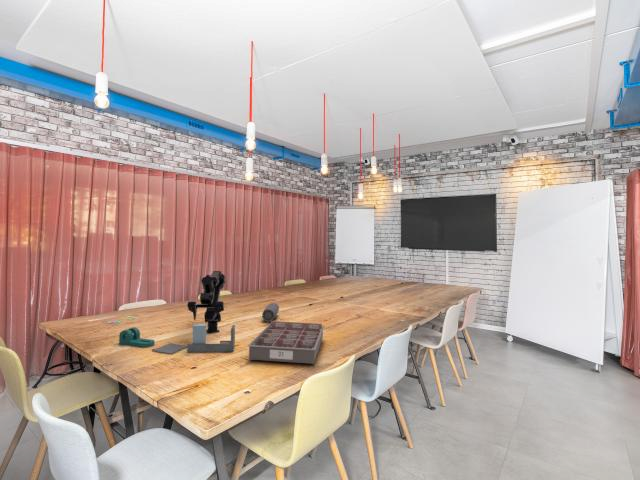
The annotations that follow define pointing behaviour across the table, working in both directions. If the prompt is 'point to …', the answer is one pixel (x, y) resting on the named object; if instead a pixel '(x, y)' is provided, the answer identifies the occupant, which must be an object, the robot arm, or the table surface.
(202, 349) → the board rack
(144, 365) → the table surface
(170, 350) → the rubber mat
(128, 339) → the bracket
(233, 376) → the table surface
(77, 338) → the table surface
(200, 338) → the pale blue-grey block
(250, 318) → the table surface
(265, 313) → the bluetooth speaker
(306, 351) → the organizer tray
